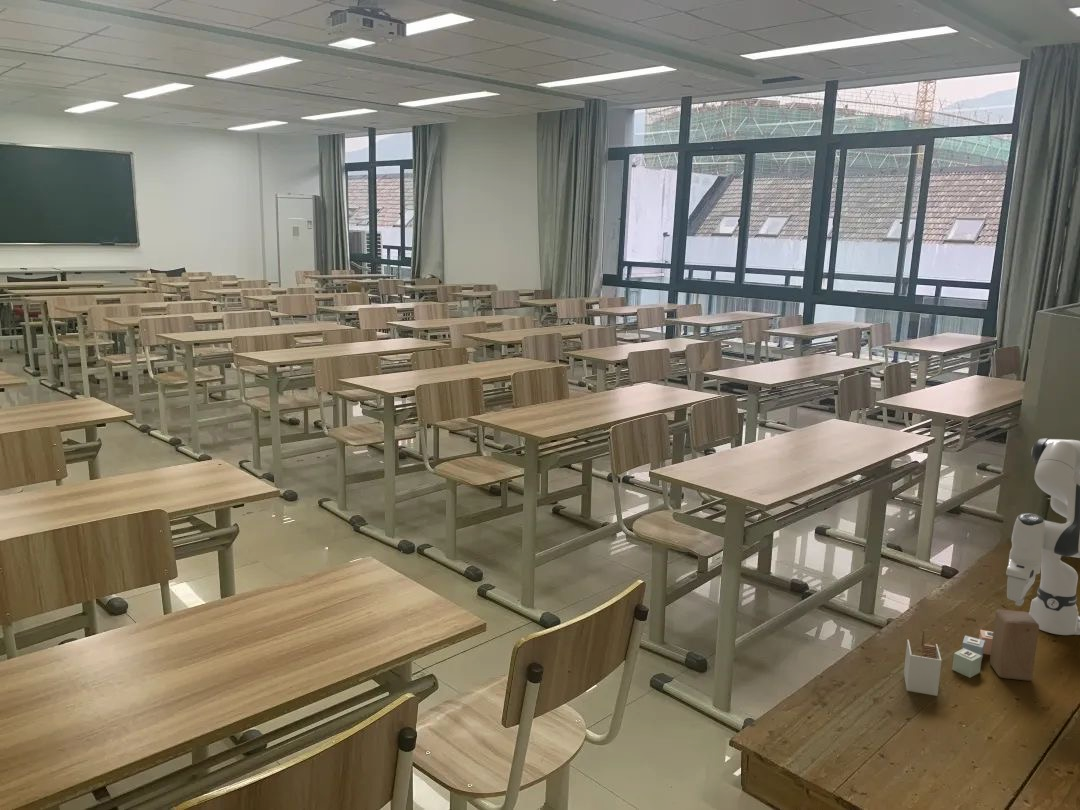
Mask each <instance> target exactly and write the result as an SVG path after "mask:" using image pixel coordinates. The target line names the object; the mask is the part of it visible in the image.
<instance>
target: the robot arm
mask: <svg viewBox="0 0 1080 810" xmlns="http://www.w3.org/2000/svg"><path fill="white" fill-rule="evenodd" d="M1031 459H1032V462H1033V463H1034V464H1035V465H1036V466H1035V469H1034V478H1033V479H1034V481H1035V483H1036V485H1037V487H1038V488H1039V489H1040V490H1041V491H1043V492H1044V493H1045V494H1047V495H1049V496H1050V503H1049V504H1050V507H1051V509H1052V511H1054V512H1055V513H1056V514H1059V516H1062V517H1063V518H1065V519H1066V522H1065V523H1061V522H1060V523H1059V522H1055V521H1050V520H1046V519H1044V518H1043V517H1042V516H1041V515H1038V514H1036V513H1031V512H1030V513H1029V512H1024V513H1021V514H1019V515H1018V516H1016V519H1015V521H1014V522H1013V525H1012V529H1011V532H1010V533H1011V535H1010V538H1011V549H1010V550H1009V555H1008V556H1009V557H1008V565H1007V567H1006V572H1005V574H1006V575H1007V581H1006V596H1007V599H1008V600H1010V601H1014V605H1015V606H1018V607H1021V606H1022V605H1023V604H1024V602H1025V598H1026V594H1027V593H1028V592H1029V590H1030V589H1031V587H1032V586H1033V585H1034V583H1035V580H1036V575H1039V574H1040V583H1039V586H1038V587H1037V591H1036V592H1037V594H1036V597H1034V598H1033V599H1031V602H1030V606H1029V607H1030V608H1029V611H1028V613H1029V614H1030V615H1031V616H1032V618H1033V619H1034V620H1035V621H1036V622H1037V623H1038V624H1039V631H1043V632H1045V633H1050V634H1054V635H1061V636H1073V635H1074V636H1080V615H1079V613H1080V611H1078V609H1079V608H1078V605H1077V600H1078V597H1077V588H1078V580H1079V575H1078V572H1077V571H1076V569H1075V568H1074V567H1072V566H1070V565H1069V564H1068V563H1066V562H1064V561H1062V560H1061V558H1062V557H1065V558H1070V557H1072V558H1078V559H1080V440H1079V439H1077V440H1076V439H1065V438H1063V439H1061V438H1049V437H1048V438H1047V437H1044V438H1039V439H1038V440H1036V441H1035V442H1034V444H1033V445H1032V448H1031Z"/></svg>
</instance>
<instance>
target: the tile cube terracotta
mask: <svg viewBox="0 0 1080 810" xmlns="http://www.w3.org/2000/svg"><path fill="white" fill-rule="evenodd" d="M978 637H979V638H978V639H981V640H985V644H984V652H983V655H989V656H990V654H991V647H992V639H993V631H989V630H984V629H980V630H979V636H978Z"/></svg>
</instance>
